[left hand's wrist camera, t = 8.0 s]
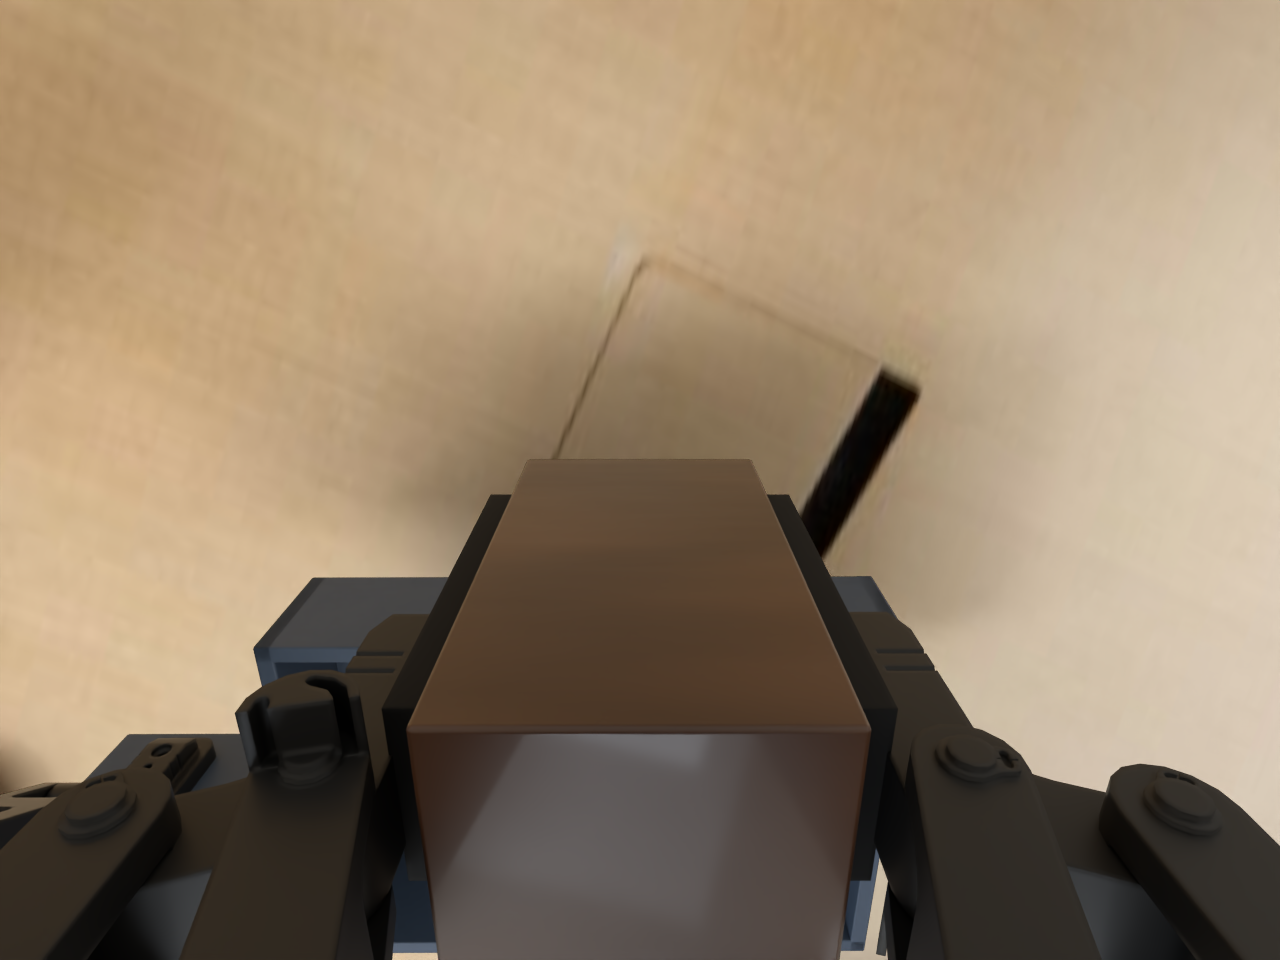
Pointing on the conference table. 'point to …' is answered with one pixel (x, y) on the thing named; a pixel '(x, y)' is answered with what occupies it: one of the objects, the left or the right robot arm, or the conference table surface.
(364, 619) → the pan
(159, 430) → the conference table surface
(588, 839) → the block
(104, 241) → the conference table surface
